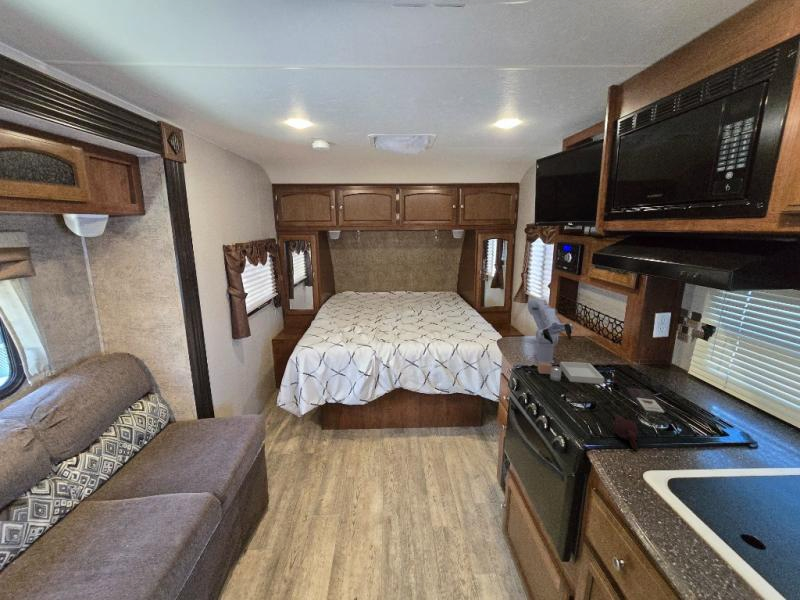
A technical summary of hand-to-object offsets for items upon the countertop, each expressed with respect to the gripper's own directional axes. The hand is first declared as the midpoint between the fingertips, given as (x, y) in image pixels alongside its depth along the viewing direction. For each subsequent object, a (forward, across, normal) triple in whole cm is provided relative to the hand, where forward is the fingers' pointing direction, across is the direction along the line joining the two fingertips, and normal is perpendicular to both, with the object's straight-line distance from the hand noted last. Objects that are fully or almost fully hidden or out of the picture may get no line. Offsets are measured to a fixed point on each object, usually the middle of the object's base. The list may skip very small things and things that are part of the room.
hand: (560, 339), depth 148 cm
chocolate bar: (+20, +23, +24) cm, 39 cm away
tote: (0, +5, +23) cm, 23 cm away
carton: (0, -10, +18) cm, 20 cm away
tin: (+6, -7, +17) cm, 19 cm away
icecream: (+46, +7, +10) cm, 47 cm away
